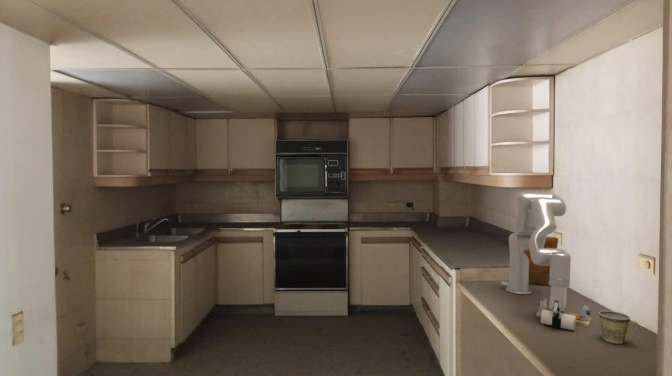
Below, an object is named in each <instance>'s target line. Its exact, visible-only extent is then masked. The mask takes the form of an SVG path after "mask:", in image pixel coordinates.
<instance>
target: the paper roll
mask: <svg viewBox="0 0 672 376" xmlns="http://www.w3.org/2000/svg"><path fill="white" fill-rule="evenodd" d="M557 313H558V314H559V312H557ZM552 316H553V311H549V310H544V309H543V310H542V313H541V318H540V324H542V325H545V324H546V326H550V325H551V326H550V327H552ZM560 318H561V328H560V329H565V330H570V331H575V329H576V325H575V324H576V316H575V315H570V314H565V313H561V316H560Z"/></svg>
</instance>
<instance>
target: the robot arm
mask: <svg viewBox="0 0 672 376" xmlns="http://www.w3.org/2000/svg"><path fill="white" fill-rule="evenodd" d="M516 205H517V212H516V218H515V221H514V222H515V224H514V230H515V231H516V232H513V233H511V234H510V235H509V237H508V246H509V280H508V281H506V280H505V281H504V280H501V282H500V283H501V286H504V287H505V286H506V287H505V291H507V292H508V293H511V294H516V295H530V294H532V290H531V289H530V288H529V285H528V283H529V258H528V256H527V255H526V254H525V252H524V251H530V254H531V259H532V261H533V263H534V264H536V265H540V266H550V278H549V285H551V286H550V294H549V306H548V309H550V310H551V309H552V310H553V316H552V326H551V327H552V328H557V329H562V328H561V318H560V316H561V313H564V312H565V309H566V306H567V291H568V288H570V286H571V285H570V284H571V261H572V257H571V254H569V252H566V250H564V249H562V248H557V249H552V248H543V247H544V244H545V240H546V237H548V235H550V234H553V233H554V232H555V231H556V230H557V228H558V226H557V222H556V219H555V217H563V216H564V215H565V214H566V212H567V208H566V207H567V206H566V203H565V201H564V199H563V198H561V197H560V196H558V195H557V194H555V193H554V192H553V193H552V192H527V191H526V192H525V191H524V192H523V191H522V192H519V193H518V194H517V196H516ZM557 312H559V314H558V313H557Z"/></svg>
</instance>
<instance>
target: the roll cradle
mask: <svg viewBox="0 0 672 376" xmlns="http://www.w3.org/2000/svg"><path fill="white" fill-rule="evenodd" d="M547 301H548V300H547V297H542V298H541V299H540V301H538V306H539V309H538V311H537V312H536V313H535V314H536V315H535V317H536V316H537V317H536V318H540V317H541V313H542V310H543V309H544V310H549V311H553V309H551V310H550V309H549V308H547ZM581 312H582V313H581V314H577V313H572V312H567V311H564V313H565V314H570V315H575V316H576V324H575V326H579V327H580V326H581V327H584V328H585V327H586V328H589V326H590V324H591V322H592V318H591V317H589V316H591V310H589V305H588V304H584V305H583V307H582V311H581Z"/></svg>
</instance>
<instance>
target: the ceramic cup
mask: <svg viewBox="0 0 672 376" xmlns="http://www.w3.org/2000/svg"><path fill="white" fill-rule="evenodd" d="M598 316H599V323H600V329H601V335H602V337H601V338H602V339H603V340H604V341H605V342H608V343H611V344H614V343H615V344H616V345H617V344H619V343H620V344H619V345H622V344H623V342H624V343H625V339H626V336H627V334H630V333H631V332H633V331H636V330H637V329H639V327H640V326H639V323H638V322H637V321H635V320H631V317H630V316H629V315H628V314H626V313H623V312H620V311H612V310H600V311H599V312H598ZM630 320H631V321H630ZM631 324H636V328H633V329H630V330H628V328H629V326H630V325H631Z"/></svg>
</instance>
